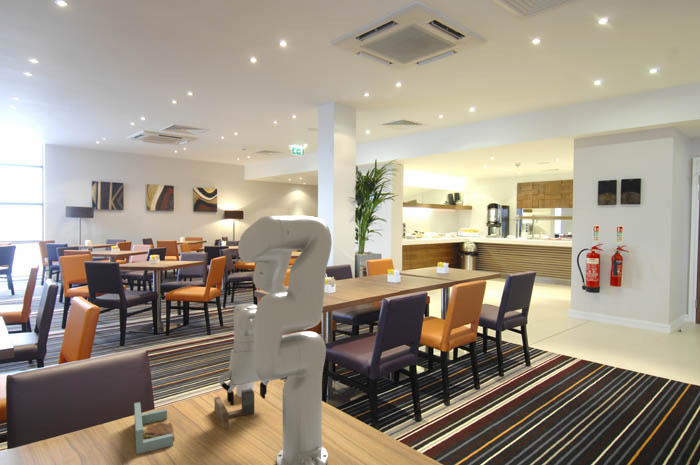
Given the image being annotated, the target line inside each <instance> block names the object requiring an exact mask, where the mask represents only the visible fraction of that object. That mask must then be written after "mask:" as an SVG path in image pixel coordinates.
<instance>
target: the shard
mask: <svg viewBox="0 0 700 465" xmlns="http://www.w3.org/2000/svg"><path fill="white" fill-rule="evenodd" d="M173 428H174V427H173V424H172V422H171V421H163V422H160V421H159V422H155V423H152V424H150V423H149V424H148V425H145V431H143V438H154V437H159V436H163V435H167V434H173V442H175V438H176V437H175V434H174V429H173Z"/></svg>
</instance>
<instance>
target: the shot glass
mask: <svg viewBox="0 0 700 465" xmlns="http://www.w3.org/2000/svg"><path fill="white" fill-rule="evenodd" d="M246 389H252V390H253V391H254V392H255V382H251V383H246V384H240V385H236V386H235V391H236V396H237V397H239V398H242V390H246Z"/></svg>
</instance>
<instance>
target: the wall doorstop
mask: <svg viewBox="0 0 700 465" xmlns="http://www.w3.org/2000/svg"><path fill="white" fill-rule="evenodd" d="M214 412H215V414H216V417H217V418H218V421H219V423H220V425H221V427H222V429H226V428H227V429H229V427H230V419H232V418H235V417H240V416H250V415H254V414H255V390H254V391H253V390H252V389H246V390H242V397H241V408H239V409H236V410H235V409H234V410H231V411H228V409H227V408H226V405H225V404H224V402H223V400H222V399H221V397H220V396H215V397H214Z"/></svg>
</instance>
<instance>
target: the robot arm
mask: <svg viewBox="0 0 700 465" xmlns="http://www.w3.org/2000/svg"><path fill="white" fill-rule="evenodd" d="M332 244H333V242H332V233H331V231H330V228H329V226H328V224H327V223H326V222H325V221H324V220H323V219H321V218H320V217H315V216H312V215H311V216H310V215H266V216H261V217H260V218H258V219H257V220H255V221H254V222H253V223H252V224H251V225H249V227H247V228H246V229H245V230H244V231H243V233H242V234H241V236H240V238H239V241H238V245H237V248H238V249H237V252H238V256H239V259H240V260H241V261H242V262H243V263H246V264H254V263H256V264H255V267H254V272H253V275H252V282H253V284H254V285H255V287H256V288H258V289H260V290H262V291H263V292H265V293H267V294H265V295H264V296H262V298H260V300H259V301H258V303H257V304H255V303H242V304H237V305H236V306H235V307H234V309H233V348H232V349H231V351H230V355H229V364H228V365H229V366H228V371H226V372H224V373H223V374H222V375H219V376H218V378H217V381H218V382H219V384H220V386H221V388H223V389H224V390H225V391H226V394H227V395H226V398H227V399H226V401H227V403H229V404H230V405H231V406H234V403H235V402H234V401H235V398H234V397H235V394H234V391H233V390H235V388H236V385H240V384H246V383H251V382H259V381H260V383H259V396H260V397H261V399H266V395H267V388H268V387H267V386H268V384H269V382H272V381H276V380H281V379H285V378H286V379H285V382H284V384H283V388H282V449H281V450H280V451H279V452H278V453H277V455H276V461H275V462H276V465H327V464H328V462H329V453H328V450H327V449H326V448H325V447H324V446H323V437H322V436H323V429H322V427H323V425H322V421H323V415H322V414H323V411H322V410H323V407H322V405H323V402H322V401H323V400H322V399H323V398H322V397H323V394H322V393H323V386H322V385H323V372H324V367H325V366H324V365H325V362H326V361H325V360H326V356H327V354H326V353H327V350H326V348H327V347H326V343H325V340H324V338H323V337H322V336H321V335H320V334H319V333H317V332H315V331H310V330H308V329H312V328H314V327H317V326H318V325H319V324H320V323H321V321H322V317H323V310H324V301H325V300H324V297H325V284H326V273H327V269H328V268H327V267H328V263H329V260H330V256H331V253H332ZM294 251H301V252H300V254H299V255H298V256H297V257H296V259H295V261H294V262H293V264H292V266H291V267H290V271H289V275H288V276H289V277H288V286H287V287H286V285H285V283H284V282H285V279H286V275H287V272H288V268H289V265H290V262H291V258H292V254H293V252H294ZM226 379H229V382H228V383H226V382H225V380H226Z"/></svg>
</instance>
